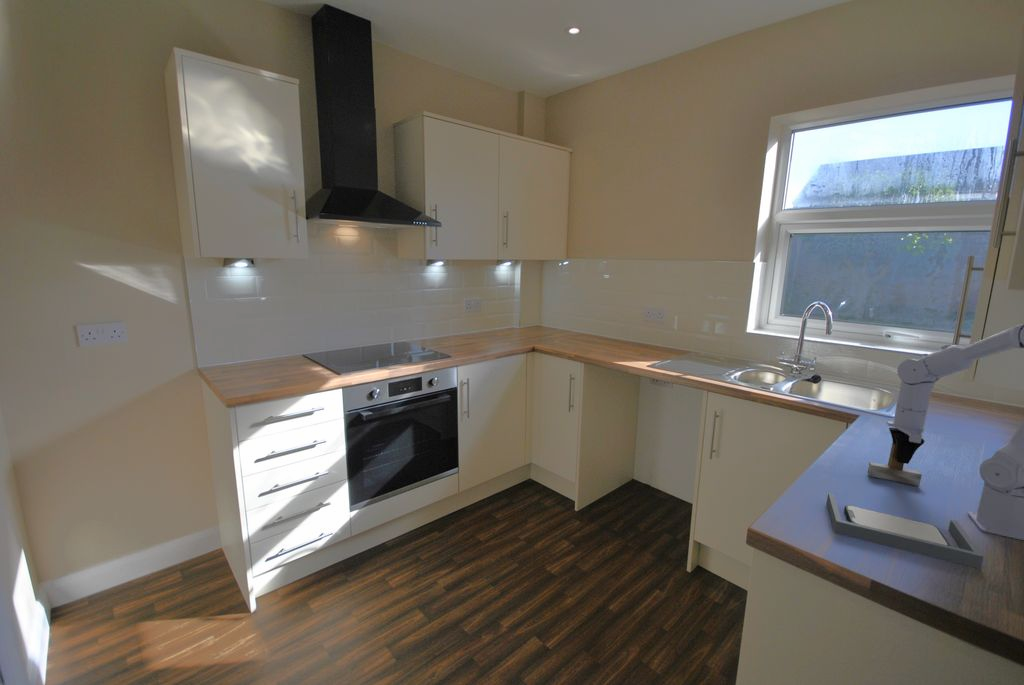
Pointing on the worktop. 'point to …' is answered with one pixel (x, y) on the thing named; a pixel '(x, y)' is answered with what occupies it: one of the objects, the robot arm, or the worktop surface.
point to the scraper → (894, 470)
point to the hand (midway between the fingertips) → (900, 460)
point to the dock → (910, 539)
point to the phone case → (894, 524)
